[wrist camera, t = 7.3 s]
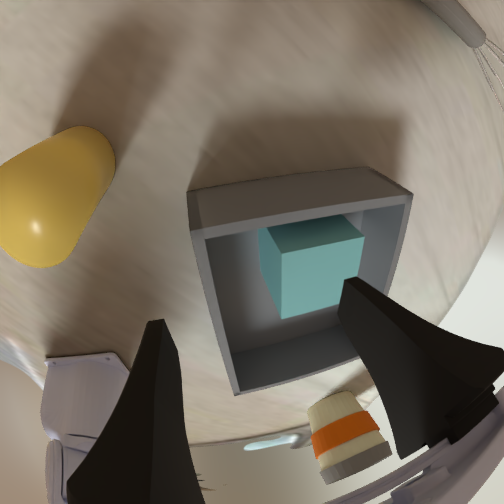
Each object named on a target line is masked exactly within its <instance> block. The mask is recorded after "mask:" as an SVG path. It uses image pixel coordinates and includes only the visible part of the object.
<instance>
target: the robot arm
mask: <svg viewBox="0 0 504 504" xmlns="http://www.w3.org/2000/svg"><path fill="white" fill-rule="evenodd" d="M337 315H338V317H339V319H340V322H341V324H342V326H343V328H344V331H345V333H346V335H347V336H348V338H349V340H350V341H351V343H352V345H353V346H354V348H355V350H356V351H357V353H358V355H359V356H360V358H361V360H362V361H363V363H364V365H365V366H366V368H367V370H368V371H369V373H370V375H371V377H372V379H373V381H374V383H375V385H376V388H377V390H378V392H379V395H380V397H381V399H382V402H383V405H384V407H385V410H386V413H387V415H388V419H389V422H390V425H391V428H392V432H393V436H394V440H395V444H396V449H397V453H398V455H399V457H400V459H401V460H402V459H404V458H406V457H407V456H409V455H411V454H412V453H414V452H416V451H417V450H419V449H421V448H422V447H424V446H425V445H428V447H429V450H427V451H426V452H424V453H423V454H421V455H420V456H418V457H417V458H415V459H414V460H412V461H410V462H409V463H407V464H405V465H404V466H402V467H400V468H398V469H397V470H395V471H393V472H391V473H390V474H388V475H386V476H384V477H382V478H380V479H378V480H376V481H374V482H372V483H370V484H368V485H366V486H364V487H362V488H360V489H357V490H355V491H353V492H351V493H348V494H346V495H343V496H341V497H338V498H336V499H333V500H331V501H328V502H325V503H323V504H363V503H365V502H367V501H369V500H371V499H373V498H375V497H377V496H379V495H381V494H383V493H385V492H387V491H389V490H391V489H393V488H394V487H396V486H398V485H400V484H401V483H403V482H405V481H406V480H408V479H410V478H411V477H413V476H414V475H416V474H417V473H419V472H420V471H422V470H423V473H422V474H421V475H419V476H417V477H415V478H413V479H411V480H409V481H407V482H405V483H404V484H402V485H401V486H399V487H398V488H396V489H395V490H393V491H392V492H391V498H390V499H388V500H385V501H383V502H381V503H379V504H467V503H468V502H469V501H470V500H471V499H472V498H473V496H474V495H475V494H476V493H477V492H478V490H479V489H480V488H481V487H482V486H483V484H484V483H485V482H486V480H487V479H488V478H489V477H490V475H491V474H492V472H493V471H494V470H495V468H496V467H497V466H498V464H499V463H500V461H501V460H502V458H503V457H504V386H503V387H502V388H501V389H500V390H499V391H498V392H497V393H496V394H495V395H494V394H493V391H494V390H495V387H494V385H493V383H494V382H495V380H496V379H497V378H498V377H499V376H500V375H501V374H502V373H503V372H504V350H503V349H502V348H499V347H495V346H490V345H486V344H482V343H478V342H475V341H471V340H469V339H465V338H463V337H460V336H458V335H455V334H453V333H450V332H448V331H445V330H444V329H441V328H439V327H437V326H435V325H433V324H431V323H429V322H428V321H426V320H424V319H422V318H420V317H419V316H417V315H415V314H414V313H412V312H410V311H409V310H407V309H405V308H404V307H402V306H401V305H399V304H398V303H396V302H395V301H393V300H392V299H390V298H389V297H387V296H386V295H384V294H383V293H381V292H380V291H378V290H377V289H375V288H374V287H372V286H371V285H370V284H368V283H367V282H365V281H364V280H362V279H360V278H359V277H357V276H355V277H351V278H348V279H344V283H343V288H342V293H341V298H340V302H339V307H338V311H337ZM45 364H46V365H47V366H48V371H47V375H46V380H45V385H44V391H43V397H42V403H41V420H42V425H43V428H44V430H45V432H46V434H47V435H48V437H49V438H50V439H51V440H52V441H50V442H48V445H47V451H46V468H45V470H46V471H45V473H46V475H45V476H46V488H47V496H48V503H49V504H205V501H204V498H203V495H202V493H201V490H200V486H199V483H198V480H197V476H196V473H195V470H194V466H193V462H192V458H191V454H190V449H189V445H188V440H187V436H186V430H185V422H184V409H183V394H182V377H181V369H180V362H179V356H178V350H177V348H176V346H175V344H174V341H173V339H172V337H171V334H170V332H169V330H168V327H167V325H166V323H165V320H164V319H159V320H153V321H148V323H147V325H146V328H145V331H144V334H143V337H142V340H141V343H140V346H139V349H138V352H137V355H136V358H135V360H134V363H133V366H132V368H131V371H130V372H129V371H128V369H127V368H126V367H125V365H124V364H123V363H122V361H121V360H120V359H119V357H118V356H117V355H116V354H115V353H102V354H93V355H83V356H73V357H61V358H47V359H45Z"/></svg>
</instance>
